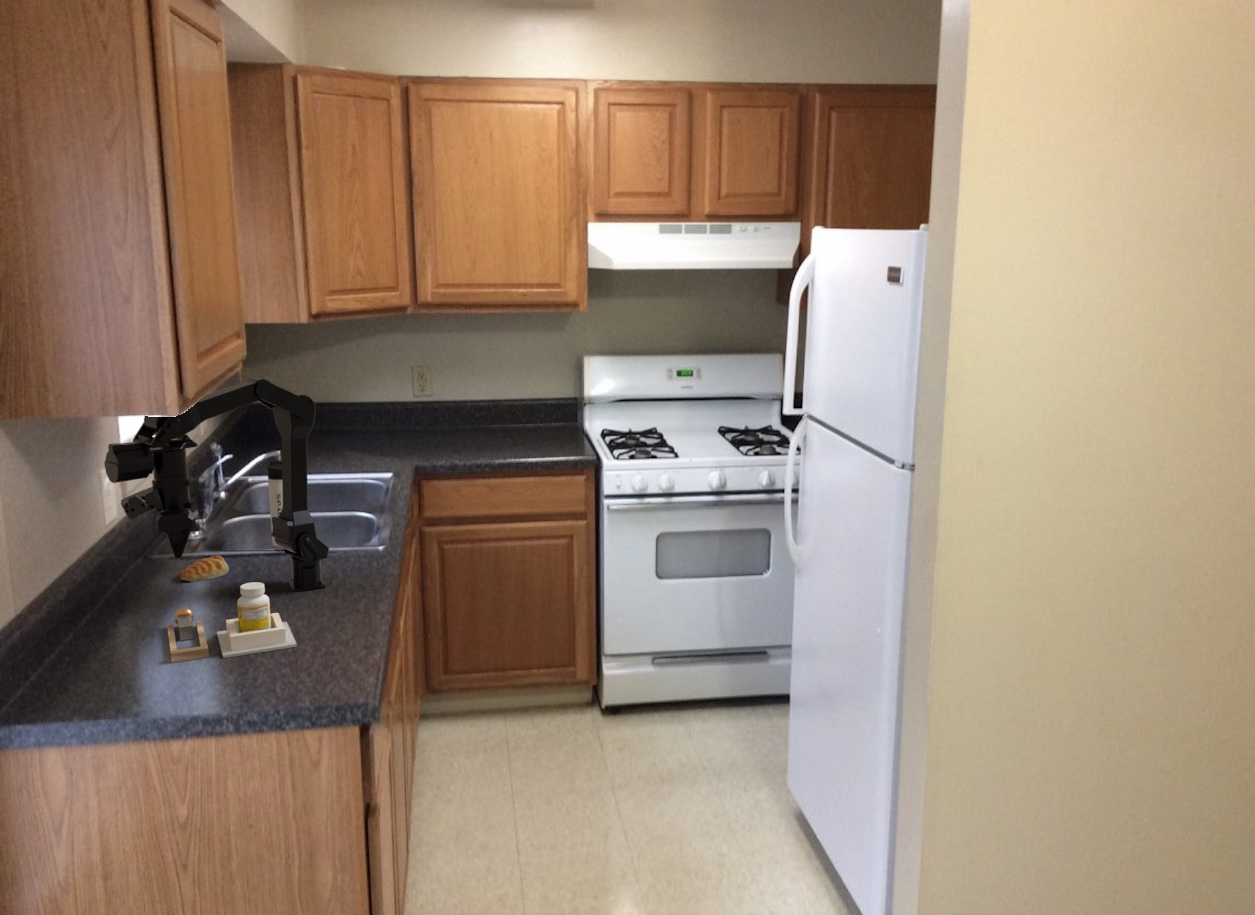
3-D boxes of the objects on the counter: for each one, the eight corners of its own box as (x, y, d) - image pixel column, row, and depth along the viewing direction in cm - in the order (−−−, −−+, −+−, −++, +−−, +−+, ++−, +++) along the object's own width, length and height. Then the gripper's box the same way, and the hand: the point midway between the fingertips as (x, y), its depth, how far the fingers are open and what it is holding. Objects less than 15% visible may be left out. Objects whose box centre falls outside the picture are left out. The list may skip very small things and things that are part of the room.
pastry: (193, 586, 211) (192, 568, 210) (173, 580, 214) (171, 563, 213) (232, 573, 219) (230, 556, 218) (211, 568, 222) (210, 551, 221)
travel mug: (290, 541, 242) (284, 458, 238) (306, 546, 237) (301, 462, 233) (266, 547, 237) (260, 462, 233) (282, 552, 233) (276, 466, 229)
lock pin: (175, 626, 188) (173, 609, 187) (193, 623, 189) (192, 607, 188) (177, 640, 181) (175, 623, 180) (196, 638, 182) (195, 620, 182)
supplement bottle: (265, 643, 179) (261, 590, 177) (234, 643, 179) (230, 590, 177) (276, 631, 184) (272, 580, 182) (246, 631, 184) (242, 580, 182)
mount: (167, 630, 186) (166, 622, 186) (202, 625, 188) (201, 617, 188) (171, 662, 172) (170, 654, 171) (208, 656, 174) (208, 648, 174)
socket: (217, 634, 184) (215, 618, 183) (286, 624, 189) (285, 608, 189) (223, 658, 174) (221, 641, 173) (296, 646, 179) (295, 630, 178)
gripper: (121, 467, 191) (129, 548, 194) (121, 489, 175) (130, 576, 178) (186, 462, 196) (192, 541, 199) (192, 482, 180) (199, 568, 183)
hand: (177, 556), depth 190 cm, fingers closed
